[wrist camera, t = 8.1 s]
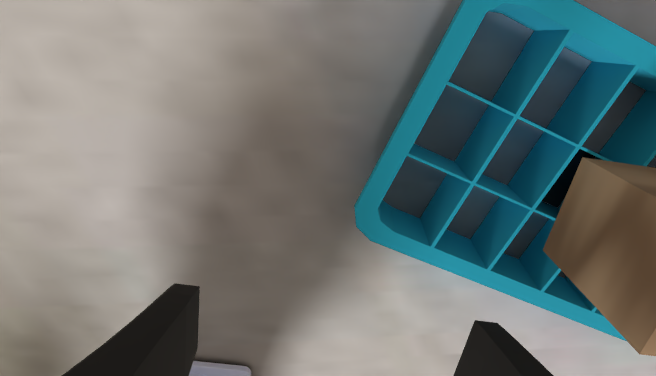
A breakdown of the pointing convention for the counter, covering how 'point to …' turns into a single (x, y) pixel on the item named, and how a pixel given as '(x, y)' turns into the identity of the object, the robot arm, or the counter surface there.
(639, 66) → the ice cube tray
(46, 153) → the counter surface
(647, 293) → the walnut block
